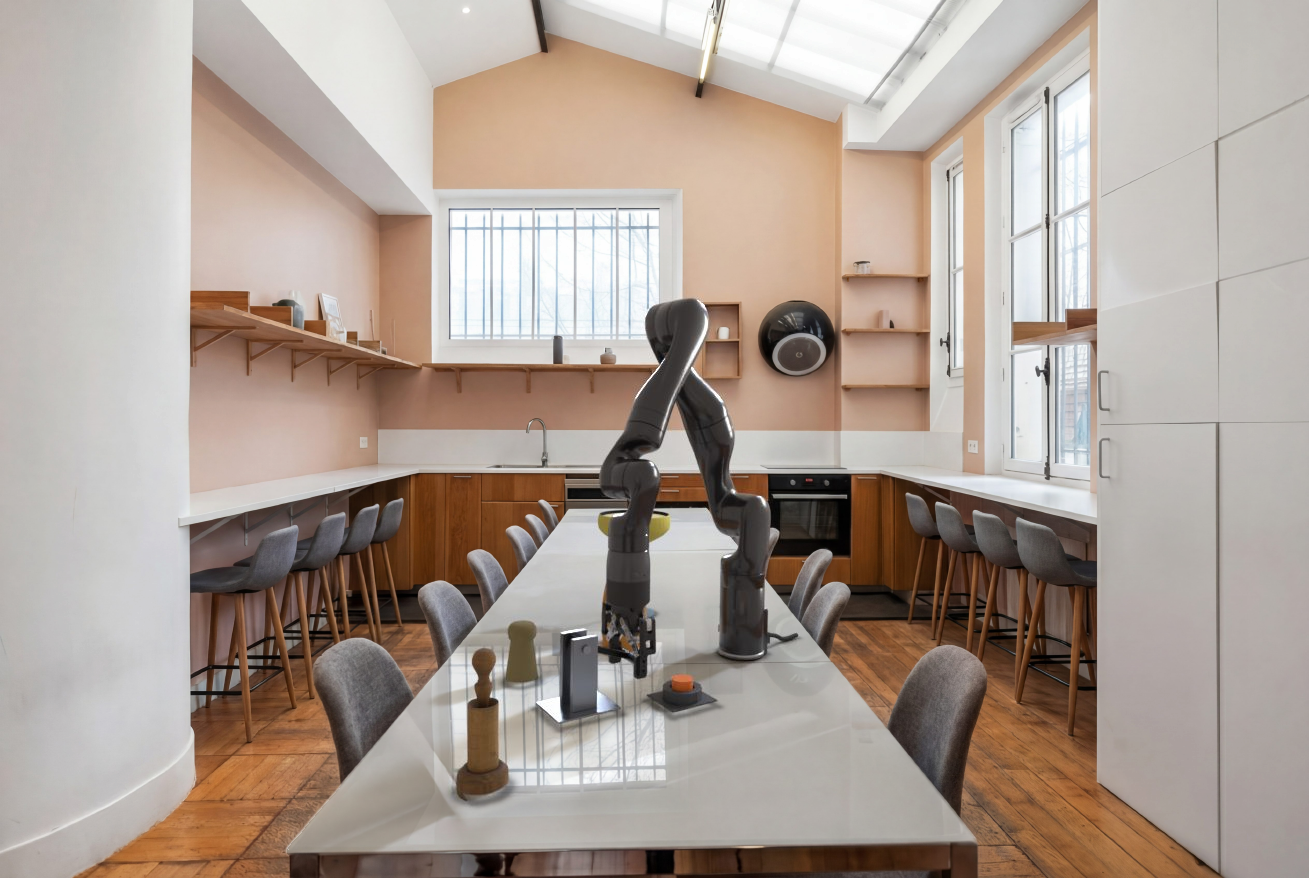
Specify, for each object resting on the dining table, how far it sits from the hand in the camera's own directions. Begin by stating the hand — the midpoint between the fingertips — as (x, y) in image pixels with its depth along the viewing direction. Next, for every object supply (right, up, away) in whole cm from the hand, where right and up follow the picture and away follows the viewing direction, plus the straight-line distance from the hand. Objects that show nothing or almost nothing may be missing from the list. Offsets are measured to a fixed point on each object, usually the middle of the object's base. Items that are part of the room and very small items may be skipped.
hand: (627, 669), depth 117 cm
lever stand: (-8, -5, -5) cm, 11 cm away
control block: (+9, -5, -1) cm, 11 cm away
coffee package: (-2, -5, +29) cm, 29 cm away
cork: (-20, -5, +8) cm, 22 cm away
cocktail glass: (-1, -5, +54) cm, 55 cm away
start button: (+9, -3, -1) cm, 10 cm away
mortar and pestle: (-17, -6, -29) cm, 34 cm away
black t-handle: (-4, +3, -3) cm, 6 cm away
